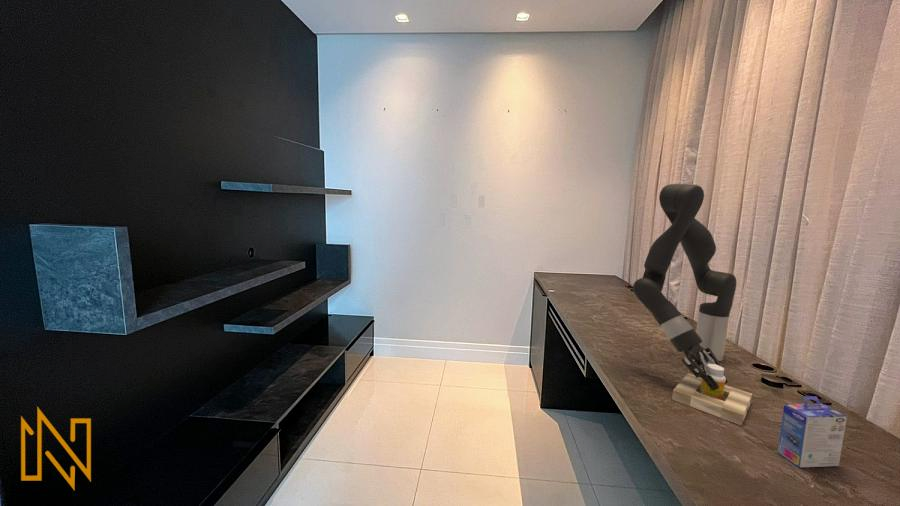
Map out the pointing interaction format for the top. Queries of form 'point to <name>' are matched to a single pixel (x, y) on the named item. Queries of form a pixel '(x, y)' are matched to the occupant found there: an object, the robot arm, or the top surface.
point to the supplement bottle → (719, 378)
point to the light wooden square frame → (713, 400)
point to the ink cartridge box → (811, 434)
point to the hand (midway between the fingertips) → (720, 386)
